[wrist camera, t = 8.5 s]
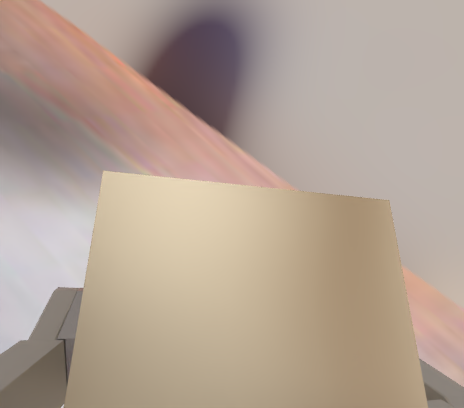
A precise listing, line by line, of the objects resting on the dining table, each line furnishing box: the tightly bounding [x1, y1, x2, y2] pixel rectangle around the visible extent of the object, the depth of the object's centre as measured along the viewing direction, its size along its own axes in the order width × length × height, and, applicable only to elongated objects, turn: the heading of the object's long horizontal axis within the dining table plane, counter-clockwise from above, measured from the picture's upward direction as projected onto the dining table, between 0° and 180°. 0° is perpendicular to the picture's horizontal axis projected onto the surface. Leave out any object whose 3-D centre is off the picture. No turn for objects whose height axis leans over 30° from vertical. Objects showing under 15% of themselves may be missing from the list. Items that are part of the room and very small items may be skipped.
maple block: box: [64, 171, 428, 408], centre depth 9 cm, size 5×5×10 cm
